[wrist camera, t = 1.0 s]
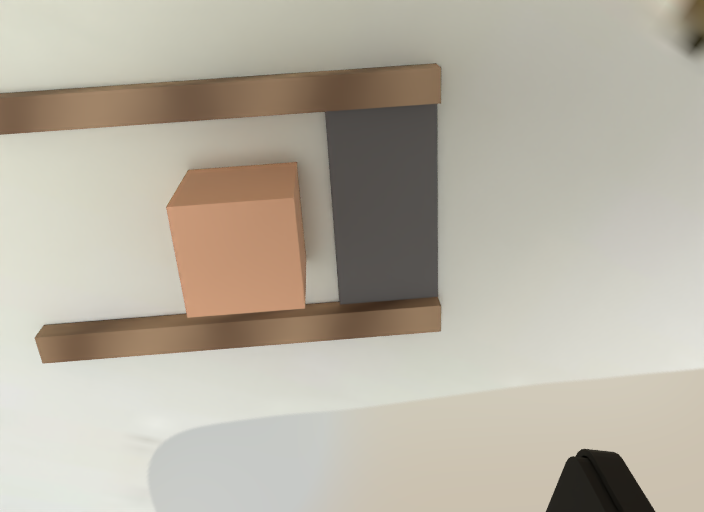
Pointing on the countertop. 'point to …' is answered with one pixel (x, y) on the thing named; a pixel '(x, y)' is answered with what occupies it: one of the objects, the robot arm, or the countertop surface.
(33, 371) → the countertop surface
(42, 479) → the countertop surface
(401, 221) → the channel
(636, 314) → the countertop surface
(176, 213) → the block
